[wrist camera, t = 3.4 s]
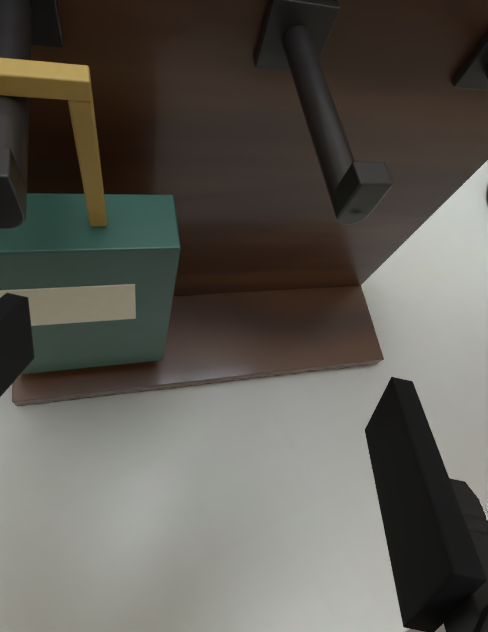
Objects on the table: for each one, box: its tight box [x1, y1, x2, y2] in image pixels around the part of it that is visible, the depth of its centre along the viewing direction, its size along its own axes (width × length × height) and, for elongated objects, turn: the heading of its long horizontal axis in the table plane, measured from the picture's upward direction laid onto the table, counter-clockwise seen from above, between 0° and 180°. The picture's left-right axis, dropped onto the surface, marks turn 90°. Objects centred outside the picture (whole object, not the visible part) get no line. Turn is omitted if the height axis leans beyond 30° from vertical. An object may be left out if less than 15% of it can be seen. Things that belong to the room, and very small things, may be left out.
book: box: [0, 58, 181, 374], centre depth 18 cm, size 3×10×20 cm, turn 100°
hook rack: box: [0, 0, 488, 406], centre depth 22 cm, size 10×28×26 cm, turn 100°
